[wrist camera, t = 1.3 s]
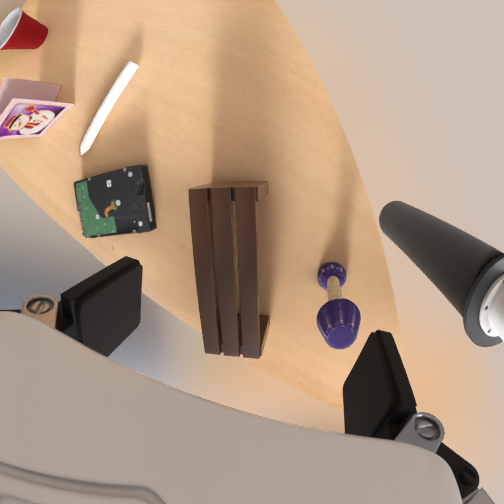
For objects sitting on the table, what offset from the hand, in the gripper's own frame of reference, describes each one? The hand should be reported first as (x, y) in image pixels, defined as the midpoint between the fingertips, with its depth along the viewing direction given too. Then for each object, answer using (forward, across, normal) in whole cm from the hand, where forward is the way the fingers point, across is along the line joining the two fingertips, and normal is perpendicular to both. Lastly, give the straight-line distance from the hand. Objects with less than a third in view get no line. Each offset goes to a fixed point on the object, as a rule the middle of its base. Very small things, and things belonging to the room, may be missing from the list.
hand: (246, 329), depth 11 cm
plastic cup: (+29, +63, -29) cm, 75 cm away
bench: (+30, +5, +9) cm, 32 cm away
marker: (+30, +33, -10) cm, 45 cm away
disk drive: (+30, +28, +5) cm, 41 cm away
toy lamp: (+30, -8, +8) cm, 32 cm away
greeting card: (+30, +48, -10) cm, 58 cm away
